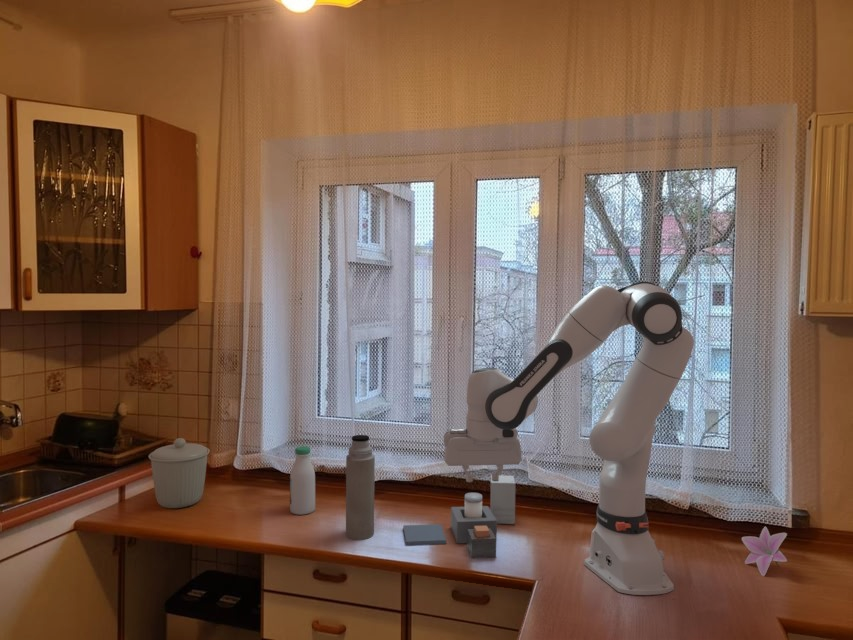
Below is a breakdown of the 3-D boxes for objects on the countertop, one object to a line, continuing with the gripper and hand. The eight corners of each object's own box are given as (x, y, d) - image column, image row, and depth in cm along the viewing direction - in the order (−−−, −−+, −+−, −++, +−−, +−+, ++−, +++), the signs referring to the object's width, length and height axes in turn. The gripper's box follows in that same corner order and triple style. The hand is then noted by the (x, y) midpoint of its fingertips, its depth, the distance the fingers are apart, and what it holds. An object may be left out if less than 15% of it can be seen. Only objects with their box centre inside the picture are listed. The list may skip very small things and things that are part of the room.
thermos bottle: (361, 525, 166) (362, 431, 165) (379, 533, 161) (380, 436, 160) (340, 534, 160) (340, 436, 159) (358, 542, 155) (358, 441, 154)
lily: (740, 556, 151) (729, 528, 149) (787, 545, 148) (777, 516, 146) (757, 591, 140) (745, 562, 138) (808, 580, 137) (797, 550, 135)
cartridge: (483, 537, 159) (484, 498, 158) (465, 538, 158) (466, 498, 158) (479, 530, 164) (480, 492, 163) (462, 531, 163) (463, 492, 163)
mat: (446, 543, 155) (446, 540, 155) (406, 545, 153) (406, 541, 153) (440, 527, 166) (440, 524, 166) (403, 528, 164) (403, 525, 164)
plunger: (489, 553, 148) (489, 530, 148) (476, 553, 148) (476, 531, 147) (486, 547, 151) (486, 525, 151) (473, 548, 151) (474, 525, 151)
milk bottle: (320, 509, 178) (320, 446, 178) (302, 517, 172) (302, 452, 171) (302, 504, 183) (302, 443, 182) (284, 512, 176) (284, 448, 175)
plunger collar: (495, 557, 147) (496, 538, 147) (471, 558, 146) (471, 539, 146) (490, 546, 153) (490, 528, 153) (467, 547, 152) (467, 529, 152)
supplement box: (513, 515, 176) (514, 475, 175) (515, 525, 168) (515, 483, 168) (489, 514, 176) (490, 474, 176) (490, 523, 169) (490, 481, 168)
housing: (496, 541, 156) (496, 520, 156) (457, 543, 155) (457, 521, 155) (487, 525, 167) (488, 505, 167) (450, 527, 166) (451, 507, 166)
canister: (170, 491, 193) (170, 430, 192) (220, 495, 190) (220, 433, 190) (136, 511, 175) (135, 444, 174) (190, 515, 173) (190, 447, 172)
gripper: (445, 432, 144) (444, 486, 145) (523, 431, 146) (522, 484, 147) (442, 426, 150) (441, 478, 151) (517, 425, 153) (516, 476, 153)
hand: (482, 481), depth 149 cm, fingers open, 5 cm apart
